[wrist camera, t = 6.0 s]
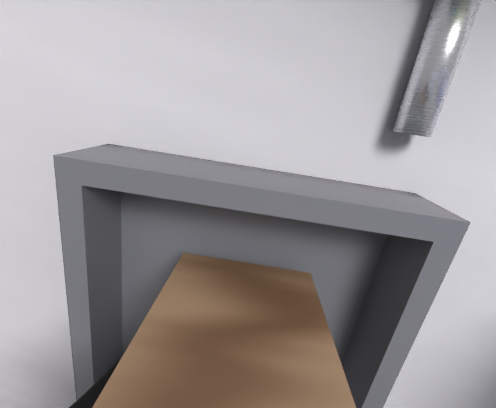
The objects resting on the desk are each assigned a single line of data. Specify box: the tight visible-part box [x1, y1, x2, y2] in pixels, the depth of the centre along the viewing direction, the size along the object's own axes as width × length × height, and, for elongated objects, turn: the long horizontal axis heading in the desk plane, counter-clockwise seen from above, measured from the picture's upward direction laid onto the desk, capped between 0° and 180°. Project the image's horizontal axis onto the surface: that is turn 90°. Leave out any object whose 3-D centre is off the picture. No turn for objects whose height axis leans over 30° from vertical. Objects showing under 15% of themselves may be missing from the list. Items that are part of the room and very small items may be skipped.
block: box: [92, 253, 356, 408], centre depth 8 cm, size 5×5×6 cm
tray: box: [53, 144, 470, 408], centre depth 11 cm, size 13×13×3 cm
